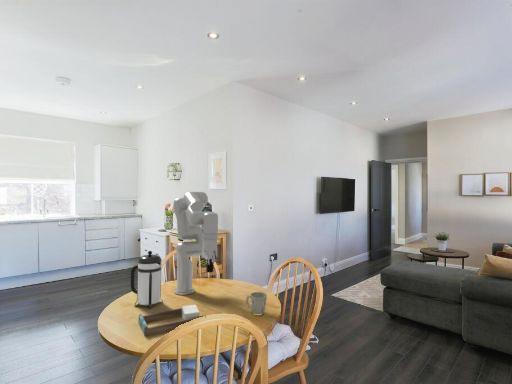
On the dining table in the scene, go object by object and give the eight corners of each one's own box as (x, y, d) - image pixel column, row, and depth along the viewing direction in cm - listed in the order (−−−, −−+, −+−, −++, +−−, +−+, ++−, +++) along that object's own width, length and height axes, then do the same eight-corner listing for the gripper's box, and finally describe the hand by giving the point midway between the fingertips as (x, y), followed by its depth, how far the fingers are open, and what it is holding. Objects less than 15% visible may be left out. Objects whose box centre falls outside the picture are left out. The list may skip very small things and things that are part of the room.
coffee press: (161, 297, 171) (163, 247, 171) (163, 307, 156) (164, 252, 156) (130, 301, 165) (131, 248, 165) (128, 311, 150) (130, 254, 150)
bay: (138, 322, 137) (138, 314, 137) (194, 311, 152) (194, 303, 152) (144, 336, 124) (144, 327, 124) (205, 322, 139) (205, 313, 139)
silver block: (181, 316, 146) (181, 306, 146) (195, 314, 149) (195, 304, 149) (184, 324, 137) (184, 314, 137) (199, 322, 140) (199, 312, 140)
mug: (261, 318, 144) (261, 298, 145) (240, 312, 151) (241, 293, 151) (269, 312, 152) (269, 294, 152) (249, 307, 158) (249, 289, 158)
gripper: (198, 235, 153) (197, 269, 153) (209, 239, 140) (208, 276, 140) (211, 234, 157) (210, 267, 157) (223, 238, 144) (222, 274, 144)
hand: (209, 271), depth 148 cm, fingers closed
